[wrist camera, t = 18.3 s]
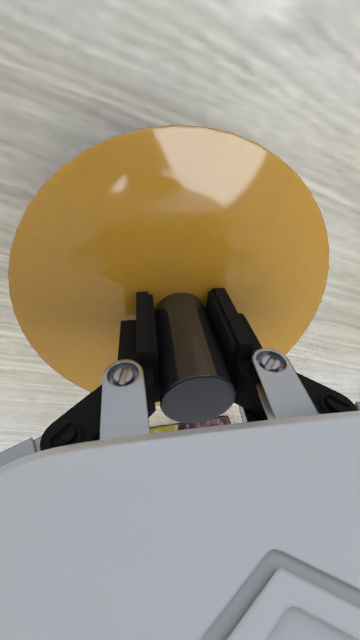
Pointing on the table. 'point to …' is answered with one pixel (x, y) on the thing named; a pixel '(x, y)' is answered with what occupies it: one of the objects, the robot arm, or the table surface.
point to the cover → (167, 257)
